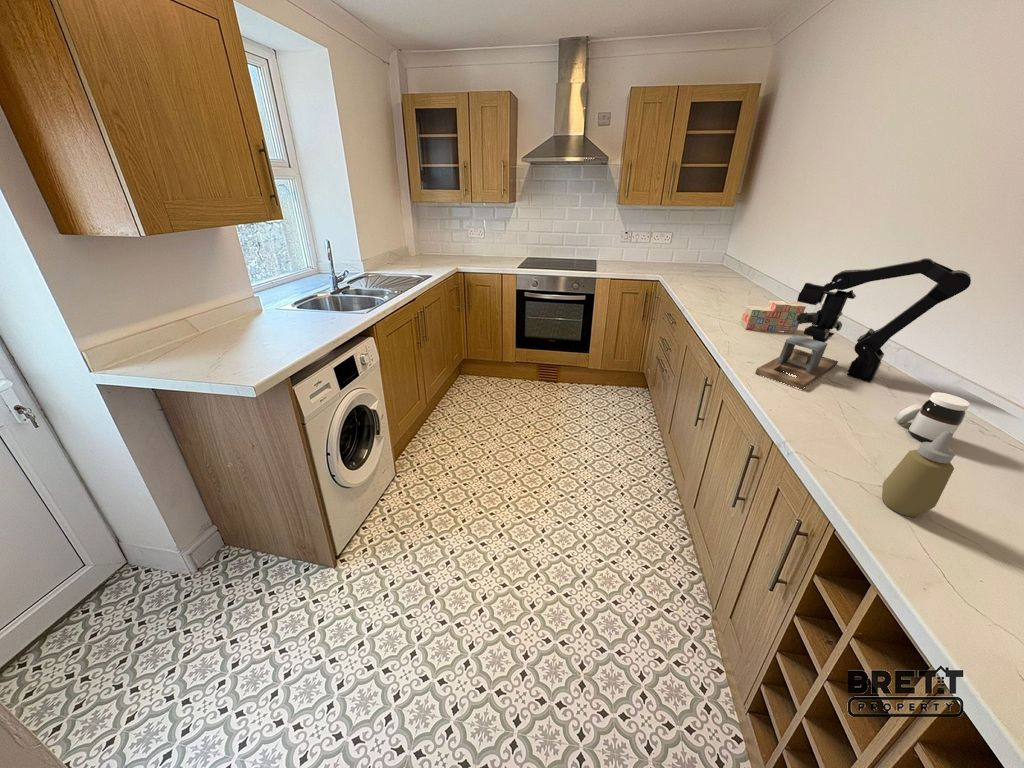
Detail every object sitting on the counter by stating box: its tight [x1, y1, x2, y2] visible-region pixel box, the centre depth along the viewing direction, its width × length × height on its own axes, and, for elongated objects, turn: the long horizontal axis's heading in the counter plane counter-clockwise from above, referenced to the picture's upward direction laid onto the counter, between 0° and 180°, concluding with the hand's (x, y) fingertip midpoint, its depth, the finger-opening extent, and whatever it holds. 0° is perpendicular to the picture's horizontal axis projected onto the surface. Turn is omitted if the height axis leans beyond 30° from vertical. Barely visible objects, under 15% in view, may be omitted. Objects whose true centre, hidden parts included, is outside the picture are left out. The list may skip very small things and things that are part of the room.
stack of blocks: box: [739, 300, 807, 333], centre depth 175 cm, size 21×6×12 cm, turn 85°
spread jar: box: [893, 391, 971, 443], centre depth 104 cm, size 12×11×12 cm
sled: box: [787, 350, 814, 369], centre depth 141 cm, size 6×18×6 cm, turn 128°
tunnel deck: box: [754, 334, 839, 390], centre depth 137 cm, size 14×32×11 cm, turn 128°
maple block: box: [793, 350, 812, 363], centre depth 138 cm, size 4×4×4 cm
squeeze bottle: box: [881, 431, 956, 518], centre depth 77 cm, size 8×8×18 cm
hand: (813, 351), depth 144 cm, fingers closed
